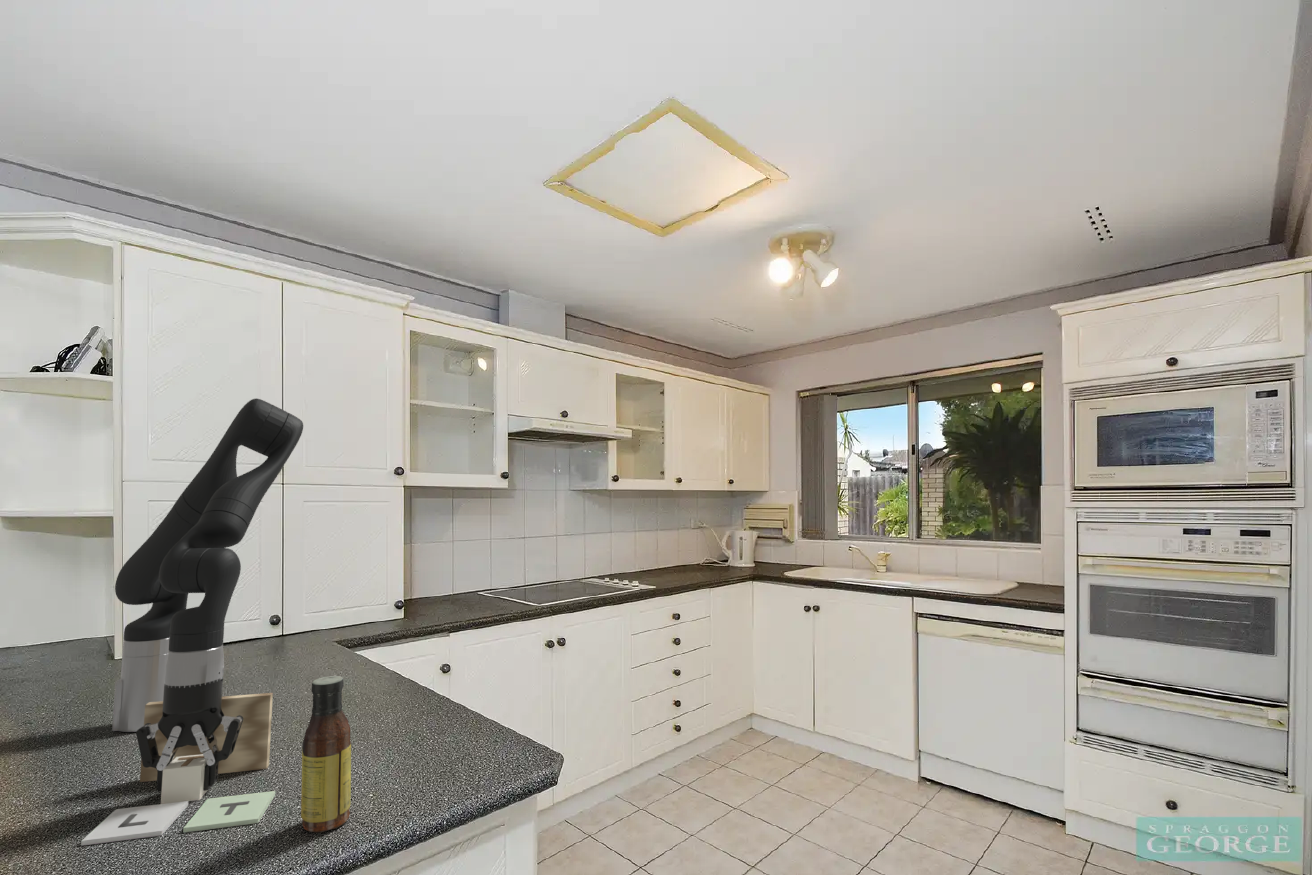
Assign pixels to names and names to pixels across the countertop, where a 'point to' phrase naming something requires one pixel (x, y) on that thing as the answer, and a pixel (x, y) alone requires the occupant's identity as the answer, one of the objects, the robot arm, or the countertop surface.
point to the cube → (183, 779)
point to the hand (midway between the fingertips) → (187, 790)
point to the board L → (135, 823)
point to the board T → (230, 811)
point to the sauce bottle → (326, 760)
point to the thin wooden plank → (250, 741)
